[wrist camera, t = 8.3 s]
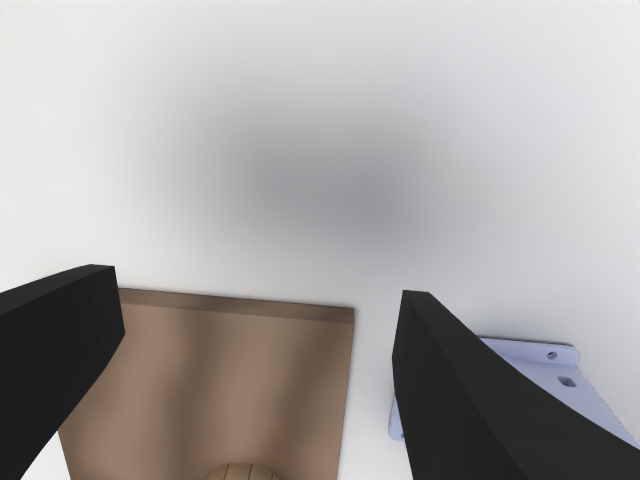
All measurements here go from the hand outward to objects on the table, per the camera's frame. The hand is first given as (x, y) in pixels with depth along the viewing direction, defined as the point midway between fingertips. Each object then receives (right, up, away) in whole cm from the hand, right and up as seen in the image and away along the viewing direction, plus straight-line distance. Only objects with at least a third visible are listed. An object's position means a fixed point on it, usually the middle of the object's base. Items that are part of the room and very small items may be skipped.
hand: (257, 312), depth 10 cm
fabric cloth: (-6, -10, +16) cm, 19 cm away
